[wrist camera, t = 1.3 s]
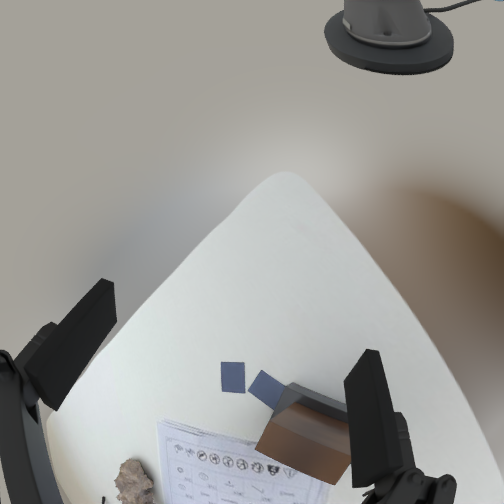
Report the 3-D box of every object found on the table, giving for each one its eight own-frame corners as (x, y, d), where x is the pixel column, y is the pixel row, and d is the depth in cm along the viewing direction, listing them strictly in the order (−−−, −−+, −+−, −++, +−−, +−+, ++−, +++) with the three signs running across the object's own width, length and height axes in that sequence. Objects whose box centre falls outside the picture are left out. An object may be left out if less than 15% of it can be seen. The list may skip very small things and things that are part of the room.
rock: (167, 527, 26) (138, 543, 20) (126, 459, 33) (93, 468, 27) (190, 527, 25) (160, 546, 19) (145, 454, 32) (110, 464, 26)
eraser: (380, 416, 22) (379, 452, 14) (358, 455, 21) (345, 500, 13) (292, 382, 27) (256, 401, 19) (274, 420, 26) (233, 449, 18)
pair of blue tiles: (330, 400, 25) (330, 400, 24) (311, 437, 24) (311, 437, 24) (225, 351, 31) (224, 351, 31) (211, 385, 31) (211, 385, 30)
